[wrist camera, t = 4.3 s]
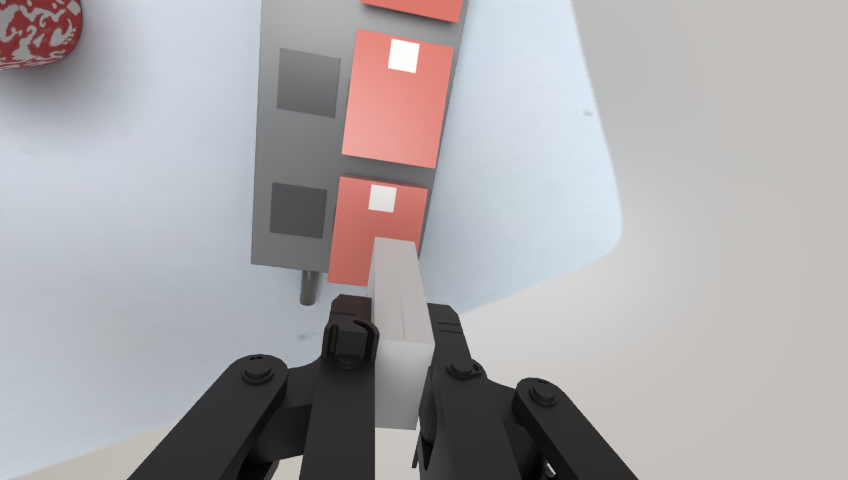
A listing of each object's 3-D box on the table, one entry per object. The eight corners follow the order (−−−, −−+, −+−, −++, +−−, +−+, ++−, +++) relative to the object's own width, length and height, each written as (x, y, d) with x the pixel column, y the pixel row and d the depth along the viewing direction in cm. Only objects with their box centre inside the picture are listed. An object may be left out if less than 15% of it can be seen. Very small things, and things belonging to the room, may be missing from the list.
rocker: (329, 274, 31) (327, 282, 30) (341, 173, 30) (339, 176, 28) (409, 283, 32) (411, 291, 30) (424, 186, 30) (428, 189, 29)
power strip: (260, 289, 37) (245, 319, 33) (282, -161, 26) (264, -203, 22) (403, 304, 39) (406, 334, 35) (480, -111, 28) (498, -140, 24)
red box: (342, 154, 28) (341, 153, 26) (357, 36, 27) (356, 27, 25) (431, 168, 29) (435, 168, 27) (448, 54, 28) (454, 47, 26)
